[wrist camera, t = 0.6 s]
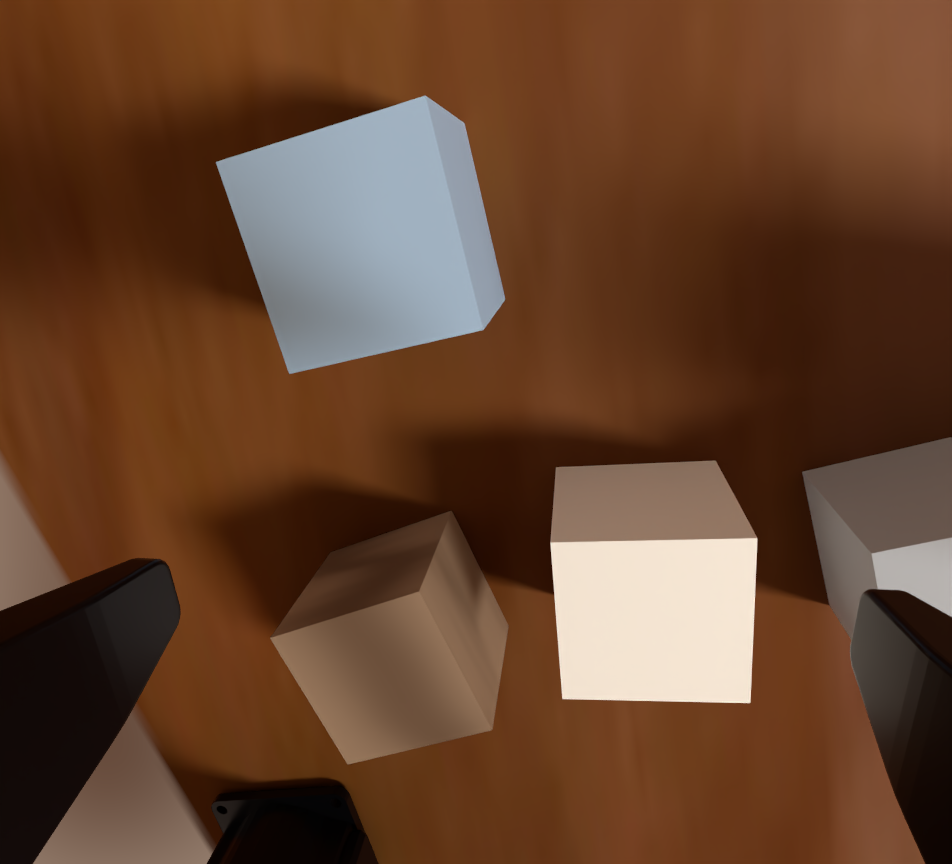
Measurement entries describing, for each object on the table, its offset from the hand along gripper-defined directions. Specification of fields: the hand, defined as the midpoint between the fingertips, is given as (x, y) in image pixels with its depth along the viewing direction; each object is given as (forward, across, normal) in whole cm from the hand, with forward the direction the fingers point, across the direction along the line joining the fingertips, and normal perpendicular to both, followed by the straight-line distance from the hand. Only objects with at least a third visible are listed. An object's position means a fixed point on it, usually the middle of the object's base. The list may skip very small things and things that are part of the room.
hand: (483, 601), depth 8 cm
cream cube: (+12, -3, +6) cm, 14 cm away
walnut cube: (+12, +5, +9) cm, 16 cm away
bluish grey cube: (+13, +4, -4) cm, 14 cm away
